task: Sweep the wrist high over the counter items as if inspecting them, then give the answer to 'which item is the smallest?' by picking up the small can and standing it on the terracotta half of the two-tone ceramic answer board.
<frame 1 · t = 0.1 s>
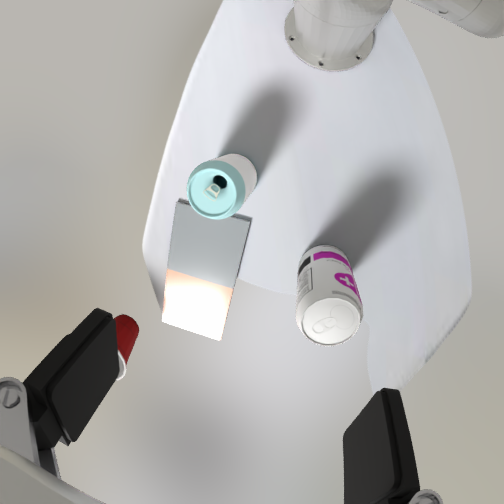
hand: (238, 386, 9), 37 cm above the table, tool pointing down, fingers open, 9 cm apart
plastic cup: (128, 324, 59), on the table
answer board: (200, 277, 51), on the table
can: (234, 176, 44), on the table
supplement can: (323, 266, 47), on the table
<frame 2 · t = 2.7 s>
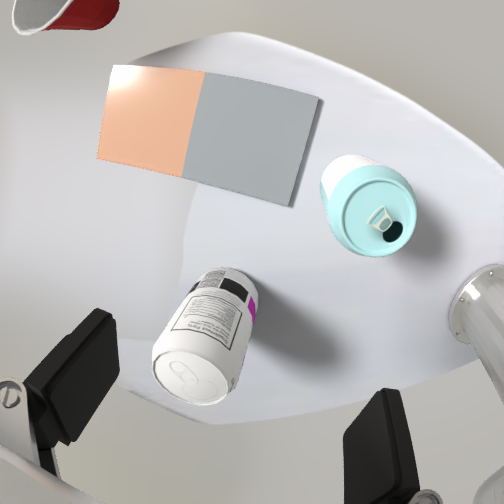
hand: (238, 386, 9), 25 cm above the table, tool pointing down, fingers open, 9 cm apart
plastic cup: (103, 12, 25), on the table
answer board: (194, 124, 30), on the table
can: (352, 186, 30), on the table
supplement can: (227, 293, 38), on the table
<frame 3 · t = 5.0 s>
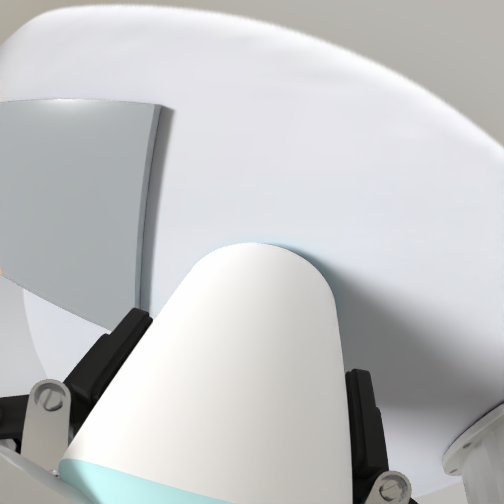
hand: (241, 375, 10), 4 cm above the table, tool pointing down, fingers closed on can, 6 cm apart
can: (258, 306, 14), on the table, touching gripper
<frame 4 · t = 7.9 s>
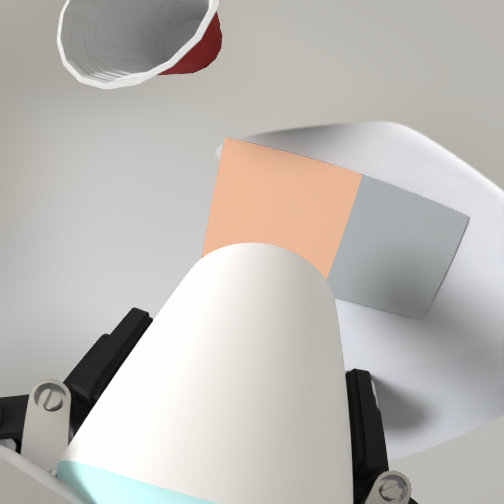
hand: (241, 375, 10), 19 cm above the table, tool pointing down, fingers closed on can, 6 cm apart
plastic cup: (194, 46, 22), on the table
answer board: (340, 236, 27), on the table
can: (258, 306, 14), point 14 cm above the table, touching gripper
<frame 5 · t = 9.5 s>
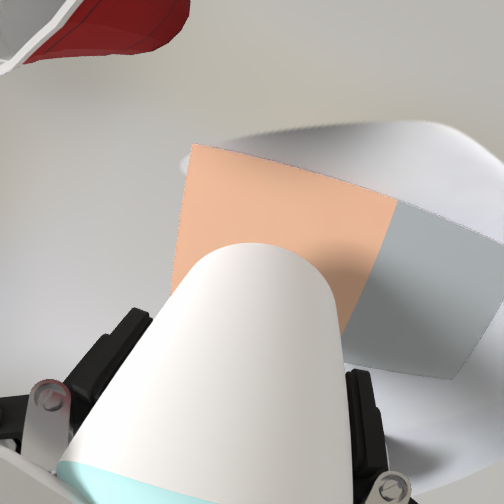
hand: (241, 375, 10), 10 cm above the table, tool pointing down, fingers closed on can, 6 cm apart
plastic cup: (153, 17, 14), on the table
answer board: (360, 286, 18), on the table
can: (258, 306, 14), point 5 cm above the table, touching gripper
when the fingers open (6 cm above the table, at t = 10.8 s): can drops 1 cm, resting on answer board.
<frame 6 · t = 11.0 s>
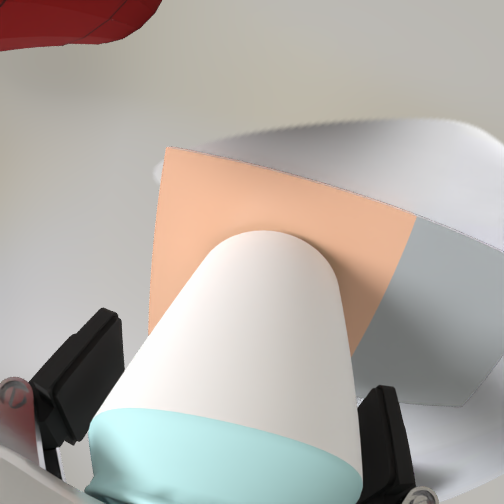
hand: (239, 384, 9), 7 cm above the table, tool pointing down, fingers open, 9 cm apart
plastic cup: (125, 1, 11), on the table
answer board: (368, 315, 15), on the table
can: (268, 291, 15), resting on answer board
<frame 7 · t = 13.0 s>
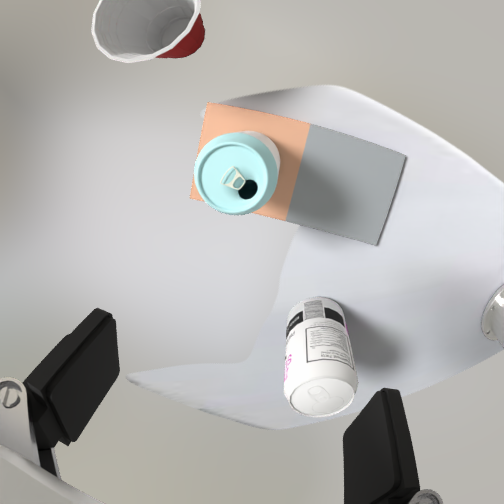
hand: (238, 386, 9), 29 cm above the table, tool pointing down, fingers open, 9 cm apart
plastic cup: (184, 38, 29), on the table
answer board: (297, 172, 34), on the table
can: (249, 160, 34), resting on answer board
supplement can: (315, 317, 42), on the table
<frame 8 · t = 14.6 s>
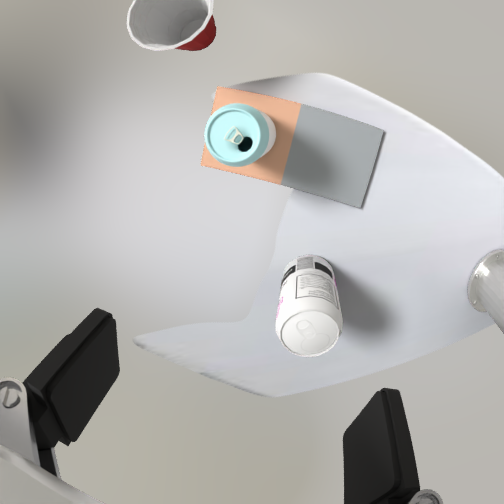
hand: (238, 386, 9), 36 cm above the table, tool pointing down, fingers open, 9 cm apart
plastic cup: (199, 35, 35), on the table
answer board: (291, 144, 40), on the table
can: (251, 133, 40), resting on answer board
supplement can: (308, 276, 48), on the table
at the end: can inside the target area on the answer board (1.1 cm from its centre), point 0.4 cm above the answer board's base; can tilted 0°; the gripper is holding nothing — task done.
